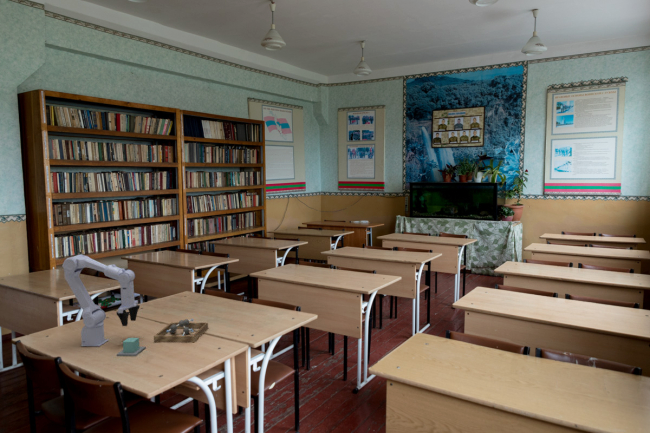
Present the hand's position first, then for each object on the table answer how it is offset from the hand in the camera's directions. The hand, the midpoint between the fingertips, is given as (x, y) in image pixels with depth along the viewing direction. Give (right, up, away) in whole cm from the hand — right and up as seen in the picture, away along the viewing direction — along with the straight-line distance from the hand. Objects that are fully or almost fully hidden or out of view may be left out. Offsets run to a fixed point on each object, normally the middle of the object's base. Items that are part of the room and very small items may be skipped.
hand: (129, 323), depth 210 cm
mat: (+6, -11, -10) cm, 16 cm away
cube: (+6, -10, -11) cm, 16 cm away
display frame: (+22, -8, +10) cm, 26 cm away
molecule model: (+21, -9, +13) cm, 26 cm away
